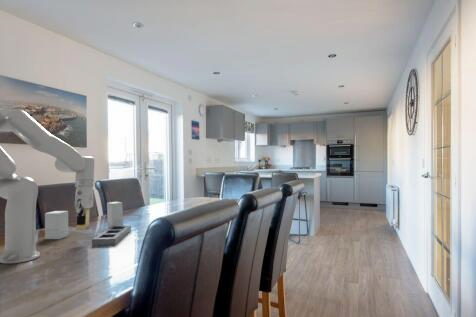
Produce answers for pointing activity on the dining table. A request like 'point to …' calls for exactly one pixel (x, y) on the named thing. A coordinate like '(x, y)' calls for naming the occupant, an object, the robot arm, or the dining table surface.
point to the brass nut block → (86, 226)
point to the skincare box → (114, 214)
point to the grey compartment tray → (111, 236)
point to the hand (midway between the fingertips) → (82, 223)
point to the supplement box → (56, 224)
